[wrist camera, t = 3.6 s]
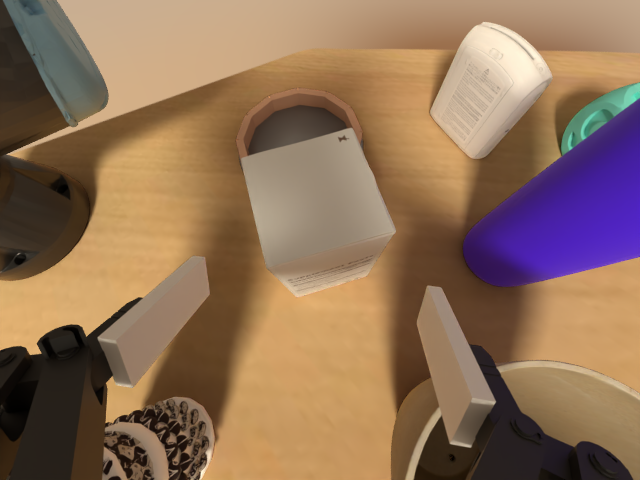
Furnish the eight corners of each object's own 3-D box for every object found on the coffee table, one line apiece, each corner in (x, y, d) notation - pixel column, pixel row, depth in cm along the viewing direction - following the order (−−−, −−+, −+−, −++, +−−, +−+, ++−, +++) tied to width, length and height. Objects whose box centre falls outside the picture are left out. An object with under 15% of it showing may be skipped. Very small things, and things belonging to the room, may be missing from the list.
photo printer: (497, 151, 36) (577, 63, 24) (472, 165, 35) (541, 82, 24) (447, 101, 39) (496, 2, 27) (423, 114, 38) (463, 18, 27)
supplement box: (276, 229, 34) (236, 153, 19) (345, 209, 34) (354, 121, 20) (294, 300, 31) (262, 271, 16) (369, 277, 31) (400, 230, 17)
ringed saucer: (223, 192, 36) (215, 180, 33) (260, 95, 41) (255, 79, 38) (350, 215, 34) (351, 205, 31) (371, 110, 39) (374, 94, 36)
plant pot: (371, 533, 24) (441, 887, 8) (353, 351, 28) (377, 370, 13) (543, 524, 23) (931, 874, 8) (495, 341, 28) (682, 350, 13)
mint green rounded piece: (637, 182, 34) (726, 138, 26) (572, 185, 34) (641, 143, 26) (612, 130, 36) (686, 77, 29) (551, 134, 36) (609, 82, 29)
